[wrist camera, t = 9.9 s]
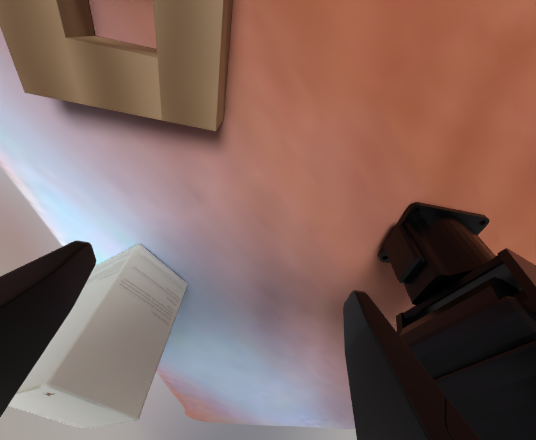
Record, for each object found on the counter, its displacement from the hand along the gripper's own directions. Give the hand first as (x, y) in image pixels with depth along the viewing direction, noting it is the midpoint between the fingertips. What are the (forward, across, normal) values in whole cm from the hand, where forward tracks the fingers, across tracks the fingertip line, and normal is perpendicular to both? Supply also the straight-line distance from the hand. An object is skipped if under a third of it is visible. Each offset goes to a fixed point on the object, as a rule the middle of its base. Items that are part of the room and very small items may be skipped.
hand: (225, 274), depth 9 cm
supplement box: (+12, +10, +17) cm, 23 cm away
